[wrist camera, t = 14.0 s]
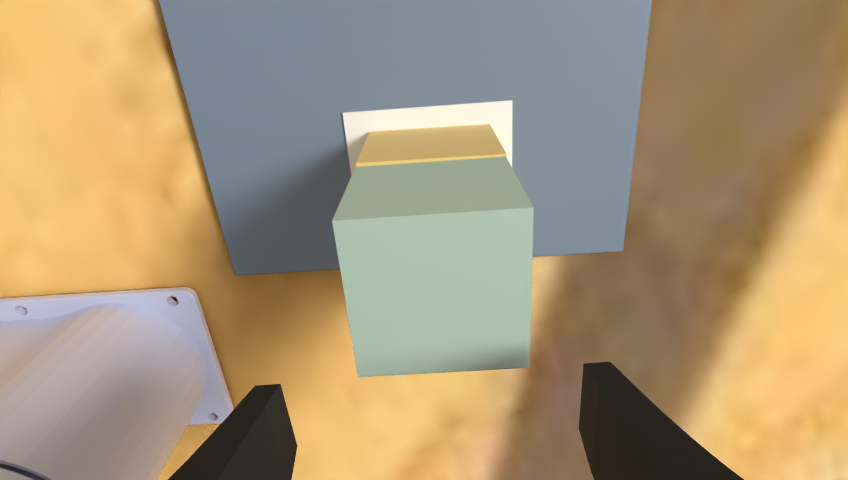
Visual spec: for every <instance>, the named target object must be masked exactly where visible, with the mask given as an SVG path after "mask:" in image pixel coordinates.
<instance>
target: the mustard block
mask: <svg viewBox="0 0 848 480" xmlns="http://www.w3.org/2000/svg"><path fill="white" fill-rule="evenodd" d="M502 156H506V158H507V154H506V152H505V150H504V148H503V147H502V145H501V143H500V141H499V140H498V138H497V136H496V134H495V132H494V131H493V129H492V127H491V125H490V124H481V125H465V126H449V127H433V128H417V129H401V130H385V131H370V132H369V134H368V136H367V139H366V141H365V143H364V146H363V148H362V150H361V152H360V155H359V157H358V159H357V161H356V167H358V166H373V165H387V164H402V163H416V162H430V161H445V160H459V159H474V158H488V157H502Z"/></svg>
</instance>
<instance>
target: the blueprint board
mask: <svg viewBox="0 0 848 480" xmlns="http://www.w3.org/2000/svg"><path fill="white" fill-rule="evenodd" d="M159 3H160V7H161V10H162V14H163V18H164V21H165V25H166V28H167V32H168V36H169V39H170V43H171V47H172V50H173V54H174V57H175V61H176V65H177V68H178V72H179V76H180V79H181V83H182V87H183V90H184V94H185V97H186V101H187V105H188V108H189V112H190V116H191V119H192V123H193V126H194V130H195V134H196V137H197V141H198V145H199V148H200V152H201V155H202V159H203V163H204V166H205V170H206V174H207V177H208V181H209V185H210V188H211V192H212V195H213V199H214V203H215V206H216V210H217V214H218V217H219V221H220V224H221V228H222V232H223V235H224V239H225V243H226V246H227V250H228V253H229V257H230V261H231V264H232V268H233V272H234V275H250V274H265V273H281V272H297V271H313V270H329V269H340V265H339V259H338V253H337V247H336V241H335V235H334V229H333V223H332V220H333V218H334V215H335V213H336V211H337V208H338V206H339V204H340V201H341V199H342V197H343V194H344V192H345V190H346V188H347V185H348V183H349V181H350V178H351V176H352V174H353V171H354V169H355V167H356V161H357V159H358V157H359V155H360V152H361V150H362V148H363V146H364V143H365V141H366V139H367V136H368V134H369V132H370V131H385V130H401V129H417V128H433V127H449V126H465V125H481V124H490V125H491V127H492V129H493V131H494V132H495V134H496V136H497V138H498V140H499V141H500V143H501V145H502V147H503V148H504V150H505V152H506V154H507V159H508V161H509V163H510V165H511V167H512V169H513V170H514V172H515V174H516V176H517V178H518V180H519V181H520V183H521V185H522V187H523V189H524V191H525V192H526V194H527V196H528V198H529V200H530V202H531V203H532V205H533V207H534V217H533V254H532V257H535V256H550V255H566V254H582V253H598V252H614V251H623V245H624V236H625V228H626V219H627V210H628V202H629V193H630V185H631V176H632V168H633V159H634V150H635V142H636V133H637V125H638V116H639V108H640V99H641V90H642V82H643V73H644V65H645V56H646V47H647V39H648V30H649V22H650V13H651V5H652V0H159Z"/></svg>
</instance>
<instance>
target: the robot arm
mask: <svg viewBox="0 0 848 480" xmlns="http://www.w3.org/2000/svg"><path fill="white" fill-rule="evenodd" d="M171 296H174V297H176V298H177V299H178V301H175V300H173V299H172V298H171ZM23 307H25V308H26V309H27V310H26V309H24V308H23ZM213 413H214V414H216V415H214V414H213ZM213 423H221V424H220V425H219V427H218V428H217V429H216V430H215V431H214V432H213V433H212V434H211V435H210V436H209V438H208V439H207V440H206V441H205V442H204V443H203V444H202V445H201V446H200V447H199V448H198V449H197V450H196V452H195V453H194V454H193V455H192V456H191V457H190V458H189V459H188V460H187V461H186V462H185V463H184V464H183V465H182V466H181V467H180V468H179V469H178V470H177V471H176V472H175V473H174V474H173V475H172V476H171V477H170V478H169V479H168V480H291V478H292V473H293V467H294V462H295V456H296V450H297V444H296V440H295V436H294V433H293V429H292V425H291V421H290V418H289V414H288V410H287V407H286V403H285V399H284V396H283V392H282V388H281V385H280V384H274V385H259V386H255V387H254V388H253V389H252V390H251V391H250V392H249V393H248V394H247V395H246V397H245V398H244V399H243V400H242V401H241V402H240V403H239V404H238V405H237V406H236V408H235V409H234V408H233V404H232V401H231V398H230V395H229V392H228V389H227V386H226V383H225V379H224V376H223V373H222V370H221V367H220V364H219V361H218V358H217V354H216V351H215V348H214V345H213V342H212V339H211V336H210V333H209V329H208V326H207V323H206V320H205V317H204V314H203V311H202V307H201V304H200V301H199V298H198V295H197V293H196V292H195V291H194V290H193V289H191V288H189V287H174V288H158V289H142V290H126V291H110V292H94V293H78V294H62V295H46V296H30V297H14V298H0V480H157V478H158V476H159V475H160V473H161V471H162V469H163V468H164V466H165V464H166V462H167V460H168V459H169V457H170V455H171V453H172V452H173V450H174V448H175V446H176V445H177V443H178V441H179V439H180V438H181V436H182V434H183V432H184V430H185V429H186V427H187V425H195V424H213ZM579 430H580V434H581V437H582V441H583V445H584V448H585V452H586V456H587V459H588V462H589V466H590V469H591V472H592V475H593V477H594V480H744V479H742V478H741V477H740V476H738V475H737V474H736V473H734V472H733V471H732V470H730V469H729V468H728V467H727V466H725V465H724V464H723V463H722V462H720V461H719V460H718V459H717V458H715V457H714V456H713V455H712V454H710V453H709V452H708V451H707V450H706V449H704V448H703V447H702V446H701V445H700V444H698V443H697V442H696V441H695V440H694V439H692V438H691V437H690V436H689V435H688V434H687V433H686V432H684V431H683V430H682V429H681V428H680V427H679V426H678V425H677V424H675V423H674V422H673V421H672V420H671V419H670V418H669V417H668V416H666V415H665V414H664V413H663V412H662V411H661V410H660V409H659V408H658V407H657V406H656V405H655V404H653V403H652V402H651V401H650V400H649V399H648V398H647V397H646V396H645V395H644V394H643V393H642V392H641V391H640V390H639V389H638V388H637V387H636V386H635V385H634V384H633V383H632V382H631V381H630V380H628V379H627V378H626V377H625V376H624V375H623V374H622V373H621V372H620V371H619V370H618V369H617V368H616V367H615V366H614V365H613V364H612V363H611V362H601V363H586V364H584V365H583V379H582V393H581V407H580V421H579Z"/></svg>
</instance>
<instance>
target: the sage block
mask: <svg viewBox="0 0 848 480" xmlns="http://www.w3.org/2000/svg"><path fill="white" fill-rule="evenodd" d="M533 217H534V207H533V205H532V203H531V202H530V200H529V198H528V196H527V194H526V192H525V191H524V189H523V187H522V185H521V183H520V181H519V180H518V178H517V176H516V174H515V172H514V170H513V169H512V167H511V165H510V163H509V161H508V159H507V158H506V156H502V157H488V158H474V159H459V160H445V161H430V162H416V163H402V164H387V165H373V166H358V167H355V169H354V171H353V174H352V176H351V178H350V181H349V183H348V185H347V188H346V190H345V192H344V194H343V197H342V199H341V201H340V204H339V206H338V208H337V211H336V213H335V215H334V218H333V220H332V223H333V229H334V235H335V241H336V247H337V253H338V259H339V265H340V271H341V277H342V283H343V289H344V295H345V301H346V307H347V313H348V319H349V325H350V331H351V337H352V343H353V349H354V355H355V361H356V367H357V373H358V377H371V376H389V375H407V374H425V373H443V372H461V371H479V370H497V369H514V368H529V363H530V327H531V290H532V254H533Z"/></svg>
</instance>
